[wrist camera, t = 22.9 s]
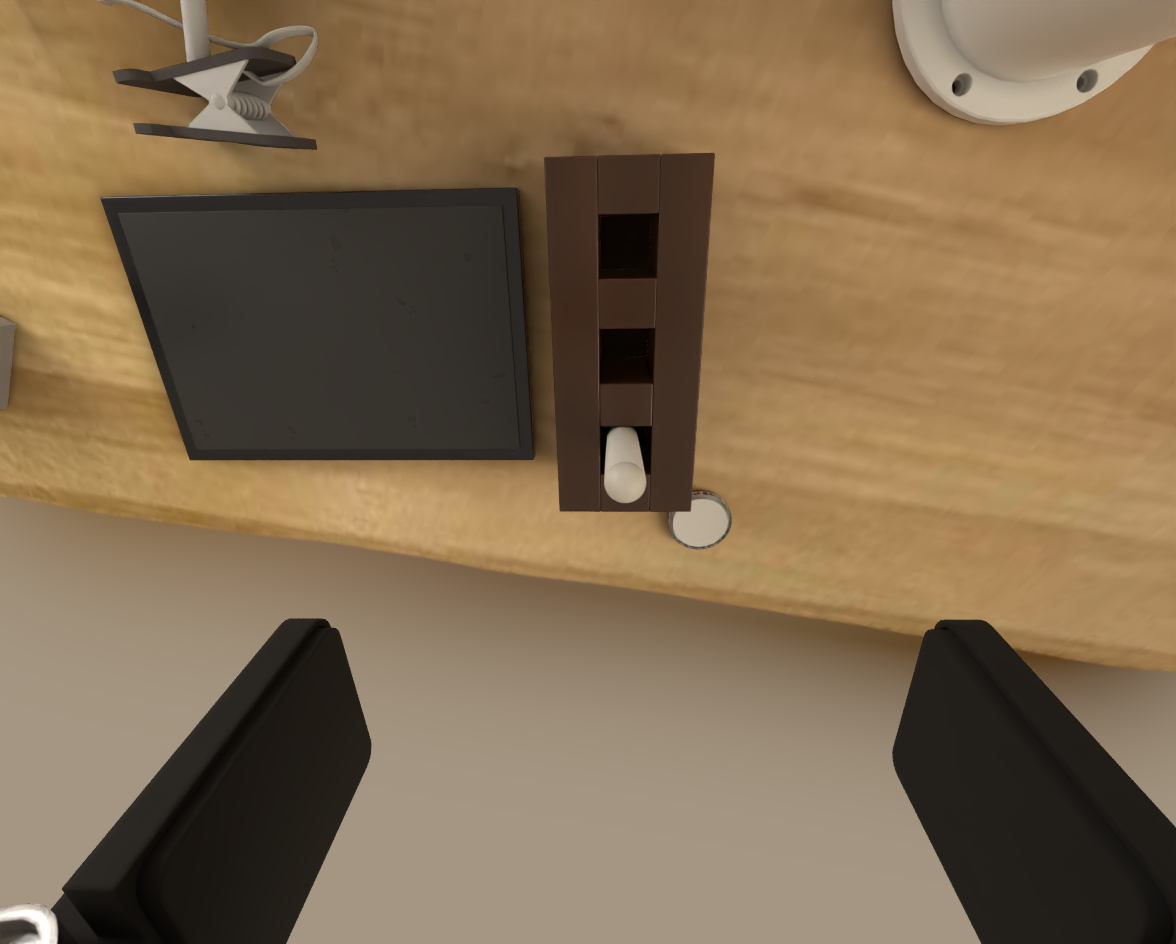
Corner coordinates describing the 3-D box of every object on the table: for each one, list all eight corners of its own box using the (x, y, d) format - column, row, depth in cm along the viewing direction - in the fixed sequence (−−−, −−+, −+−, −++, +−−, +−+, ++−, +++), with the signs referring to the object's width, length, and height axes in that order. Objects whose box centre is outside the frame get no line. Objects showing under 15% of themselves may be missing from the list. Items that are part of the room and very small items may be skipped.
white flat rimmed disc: (727, 544, 37) (728, 550, 36) (666, 544, 37) (667, 549, 36) (732, 491, 35) (734, 495, 35) (669, 491, 35) (670, 495, 35)
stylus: (634, 407, 33) (647, 467, 20) (634, 433, 34) (647, 509, 20) (607, 407, 33) (603, 467, 20) (608, 433, 34) (603, 509, 20)
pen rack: (694, 166, 28) (715, 152, 22) (678, 466, 35) (691, 512, 29) (556, 170, 28) (543, 156, 23) (567, 466, 35) (559, 511, 30)
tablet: (519, 188, 29) (516, 187, 28) (535, 455, 35) (533, 460, 34) (111, 197, 30) (97, 196, 29) (198, 455, 36) (187, 461, 35)
